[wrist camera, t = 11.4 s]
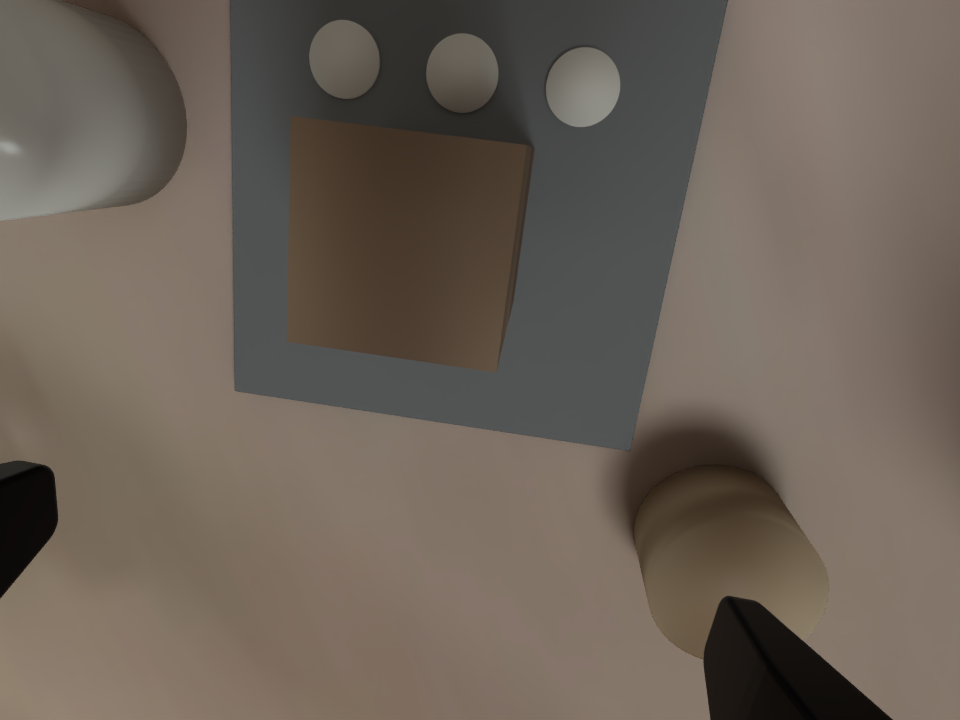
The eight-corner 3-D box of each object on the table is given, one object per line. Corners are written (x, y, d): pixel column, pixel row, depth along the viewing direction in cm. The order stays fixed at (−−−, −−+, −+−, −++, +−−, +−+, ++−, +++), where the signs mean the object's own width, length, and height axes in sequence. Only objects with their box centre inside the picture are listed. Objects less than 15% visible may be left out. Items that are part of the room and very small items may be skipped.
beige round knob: (805, 476, 18) (852, 534, 16) (765, 602, 20) (801, 677, 17) (649, 452, 19) (667, 506, 16) (621, 579, 20) (633, 648, 17)
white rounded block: (183, 22, 16) (33, -32, 12) (190, 216, 18) (61, 238, 13) (3, 2, 17) (-214, -59, 12) (26, 194, 18) (-158, 208, 13)
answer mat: (726, -10, 15) (732, -15, 14) (628, 445, 19) (630, 452, 18) (237, -62, 15) (227, -68, 15) (240, 386, 19) (233, 392, 19)
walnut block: (534, 148, 16) (526, 145, 10) (513, 300, 17) (496, 372, 11) (381, 130, 16) (290, 115, 10) (372, 281, 17) (287, 341, 12)
